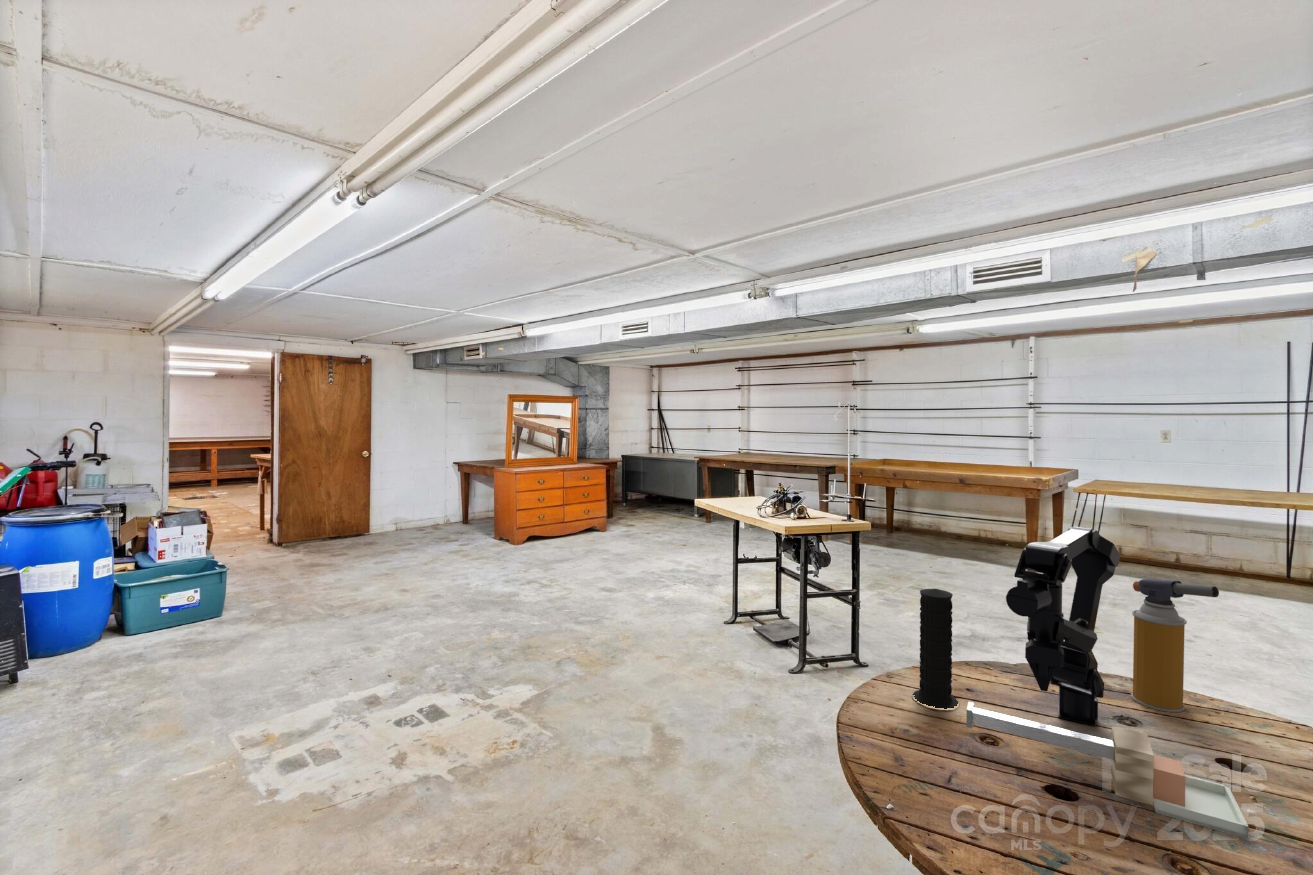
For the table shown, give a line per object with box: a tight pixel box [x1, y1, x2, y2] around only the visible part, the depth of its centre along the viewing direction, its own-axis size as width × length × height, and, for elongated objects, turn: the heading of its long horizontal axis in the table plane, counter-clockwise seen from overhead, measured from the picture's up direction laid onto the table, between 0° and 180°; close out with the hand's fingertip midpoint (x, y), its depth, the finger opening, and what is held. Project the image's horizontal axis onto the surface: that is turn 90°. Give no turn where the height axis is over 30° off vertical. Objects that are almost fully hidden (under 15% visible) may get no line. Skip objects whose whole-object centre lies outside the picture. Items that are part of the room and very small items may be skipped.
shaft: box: [965, 701, 1115, 761], centre depth 109 cm, size 26×4×4 cm, turn 56°
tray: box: [1153, 774, 1249, 840], centre depth 98 cm, size 11×12×2 cm
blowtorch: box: [1130, 578, 1220, 713], centre depth 130 cm, size 9×16×30 cm, turn 15°
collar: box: [1153, 754, 1186, 807], centre depth 99 cm, size 4×5×5 cm
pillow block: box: [1110, 725, 1155, 807], centre depth 102 cm, size 5×8×9 cm, turn 146°
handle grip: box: [912, 588, 959, 709], centre depth 134 cm, size 10×26×10 cm
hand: (1043, 681), depth 117 cm, fingers open, 9 cm apart
